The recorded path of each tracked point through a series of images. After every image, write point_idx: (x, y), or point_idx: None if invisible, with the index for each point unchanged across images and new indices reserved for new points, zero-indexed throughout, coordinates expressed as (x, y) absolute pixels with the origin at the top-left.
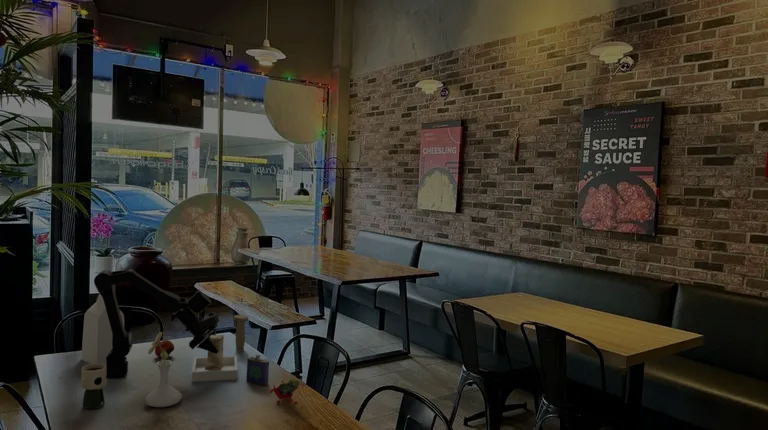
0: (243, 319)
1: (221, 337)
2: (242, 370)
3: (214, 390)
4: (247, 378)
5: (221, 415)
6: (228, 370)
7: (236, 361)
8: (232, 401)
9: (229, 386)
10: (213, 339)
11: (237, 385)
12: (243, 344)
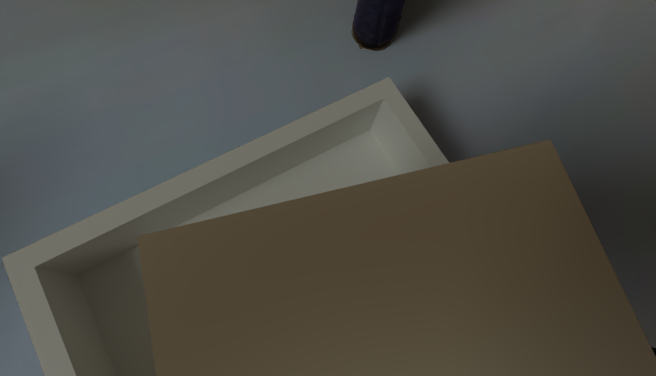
0: None
1: (407, 180)
2: (194, 153)
3: (593, 162)
4: (398, 20)
5: None
6: (429, 135)
7: (188, 172)
8: (645, 14)
9: (497, 108)
10: (635, 369)
11: (460, 72)
12: None
